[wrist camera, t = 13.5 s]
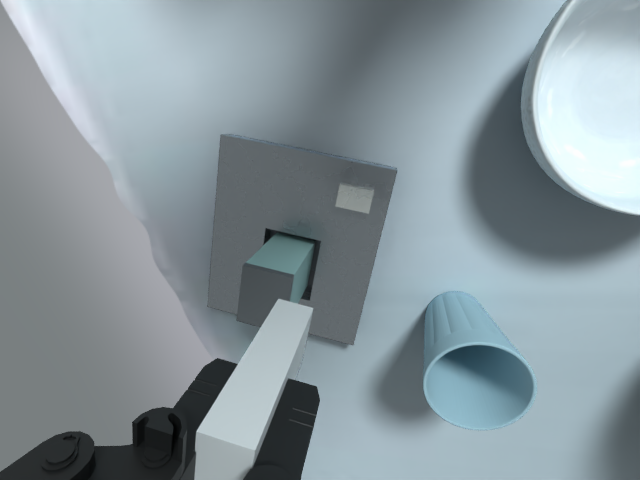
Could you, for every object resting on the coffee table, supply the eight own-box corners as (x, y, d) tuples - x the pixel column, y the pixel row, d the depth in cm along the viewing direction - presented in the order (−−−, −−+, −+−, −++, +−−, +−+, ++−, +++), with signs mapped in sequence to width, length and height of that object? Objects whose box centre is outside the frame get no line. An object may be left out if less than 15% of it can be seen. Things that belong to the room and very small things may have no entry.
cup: (428, 357, 37) (442, 439, 27) (402, 294, 35) (408, 357, 26) (504, 338, 35) (549, 420, 25) (480, 270, 33) (518, 330, 23)
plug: (277, 232, 35) (242, 265, 27) (315, 241, 35) (292, 277, 27) (270, 276, 37) (236, 320, 29) (307, 285, 37) (283, 333, 28)
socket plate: (230, 133, 34) (216, 134, 31) (396, 167, 32) (397, 171, 29) (215, 298, 40) (203, 310, 37) (355, 334, 38) (352, 350, 35)
